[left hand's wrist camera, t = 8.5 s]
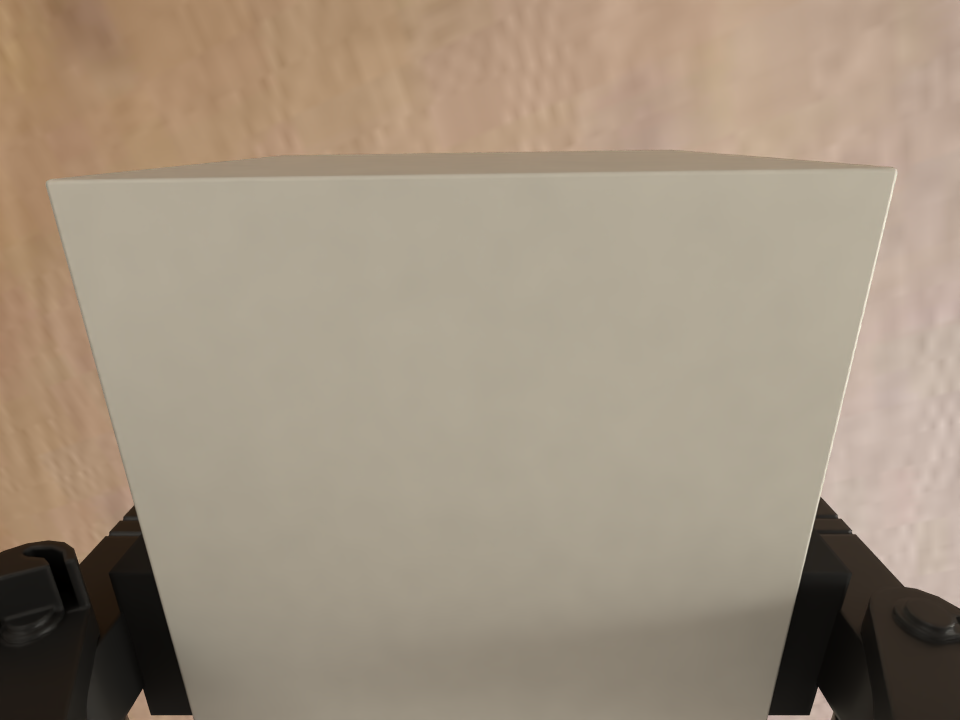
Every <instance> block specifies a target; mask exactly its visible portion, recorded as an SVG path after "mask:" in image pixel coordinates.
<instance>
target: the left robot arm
mask: <svg viewBox="0 0 960 720" xmlns="http://www.w3.org/2000/svg"><path fill="white" fill-rule="evenodd" d="M818 687H819V688H820V690H821V692H822V693H823V695H824V697H825V698H826V700H827V702H828V703H829V705H830V707H831V708H832V710H833V715H832V718H831V720H960V609H959V608H958V607H956V606H954V605H952V604H950V603H949V602H947V601H945V600H943V599H942V598H940V597H938V596H935V595H932V594H929V593H927V592H924V591H921V590H918V589H914V588H908V587H904V586H903V585H902V584H901V583H900V582H899V580H898V579H897V578H896V577H895V576H894V575H893V574H892V573H891V572H890V571H889V570H888V569H887V568H886V566H885V565H884V564H883V563H882V562H881V561H880V560H879V559H878V558H877V557H876V556H875V555H874V554H873V553H872V551H871V550H870V549H869V548H868V547H867V546H866V545H865V544H864V543H863V542H862V541H861V540H860V539H859V537H858V536H857V535H856V534H852V530H851V529H850V528H849V527H848V526H847V525H846V524H845V522H844V521H843V520H842V519H838V515H837V514H836V513H835V512H834V511H833V510H832V508H831V507H830V506H829V505H828V504H827V503H826V502H825V501H824V500H823V499H822V498H821V497H820V500H819V504H818V508H817V512H816V516H815V521H814V525H813V529H812V533H811V537H810V542H809V546H808V550H807V554H806V558H805V563H804V567H803V571H802V575H801V579H800V583H799V588H798V592H797V596H796V600H795V604H794V609H793V613H792V617H791V621H790V625H789V630H788V634H787V638H786V642H785V646H784V651H783V655H782V659H781V663H780V667H779V672H778V676H777V680H776V684H775V688H774V692H773V697H772V701H771V705H770V709H769V713H768V715H810V712H811V709H812V705H813V702H814V699H815V695H816V692H817V689H818ZM142 689H143V690H144V693H145V697H146V700H147V703H148V707H149V710H150V713H151V715H192V711H191V707H190V704H189V700H188V697H187V693H186V689H185V686H184V682H183V679H182V675H181V671H180V668H179V664H178V661H177V657H176V653H175V650H174V646H173V642H172V639H171V635H170V632H169V628H168V624H167V621H166V617H165V614H164V610H163V606H162V603H161V599H160V596H159V592H158V588H157V585H156V581H155V577H154V574H153V570H152V567H151V563H150V559H149V556H148V552H147V549H146V545H145V541H144V538H143V534H142V531H141V527H140V523H139V520H138V516H137V512H136V509H135V505H134V506H133V507H132V508H131V509H130V511H129V512H128V513H127V514H126V515H125V516H124V519H123V521H119V522H118V523H117V525H116V526H115V527H114V528H113V529H112V530H111V531H110V532H109V536H105V538H104V539H103V540H102V541H101V542H100V543H99V544H98V545H97V546H96V547H95V548H94V549H93V550H92V552H91V553H90V554H89V555H88V556H87V557H86V558H85V559H84V560H83V561H82V562H81V563H80V565H79V563H78V560H77V557H76V554H75V550H74V548H72V547H71V546H69V545H68V544H66V543H65V542H57V541H41V542H34V543H27V544H24V545H21V546H18V547H15V548H11V549H8V550H5V551H3V552H1V553H0V720H129V718H128V715H127V714H128V712H129V711H130V709H131V707H132V706H133V704H134V702H135V701H136V699H137V697H138V696H139V694H140V692H141V691H142Z"/></svg>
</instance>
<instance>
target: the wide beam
mask: <svg viewBox="0 0 960 720" xmlns="http://www.w3.org/2000/svg"><path fill="white" fill-rule="evenodd" d="M896 177H897V169H895V168H893V167H883V166H871V165H858V164H845V163H832V162H820V161H807V160H794V159H781V158H768V157H756V156H743V155H730V154H717V153H705V152H692V151H679V150H628V151H559V152H491V153H422V154H353V155H284V156H273V157H263V158H253V159H244V160H234V161H224V162H214V163H204V164H195V165H185V166H175V167H165V168H155V169H146V170H136V171H126V172H116V173H106V174H97V175H87V176H77V177H67V178H57V179H50V180H48V181H47V182H46V188H47V191H48V195H49V198H50V202H51V206H52V209H53V213H54V216H55V220H56V224H57V227H58V231H59V234H60V238H61V242H62V245H63V249H64V253H65V256H66V260H67V263H68V267H69V271H70V274H71V278H72V281H73V285H74V289H75V292H76V296H77V299H78V303H79V307H80V310H81V314H82V318H83V321H84V325H85V328H86V332H87V336H88V339H89V343H90V346H91V350H92V354H93V357H94V361H95V364H96V368H97V372H98V375H99V379H100V382H101V386H102V390H103V393H104V397H105V401H106V404H107V408H108V411H109V415H110V419H111V422H112V426H113V429H114V433H115V437H116V440H117V444H118V447H119V451H120V455H121V458H122V462H123V466H124V469H125V473H126V476H127V480H128V484H129V487H130V491H131V494H132V498H133V502H134V505H135V509H136V512H137V516H138V520H139V523H140V527H141V531H142V534H143V538H144V541H145V545H146V549H147V552H148V556H149V559H150V563H151V567H152V570H153V574H154V577H155V581H156V585H157V588H158V592H159V596H160V599H161V603H162V606H163V610H164V614H165V617H166V621H167V624H168V628H169V632H170V635H171V639H172V642H173V646H174V650H175V653H176V657H177V661H178V664H179V668H180V671H181V675H182V679H183V682H184V686H185V689H186V693H187V697H188V700H189V704H190V707H191V711H192V715H193V718H194V720H767V718H768V713H769V709H770V705H771V701H772V697H773V692H774V688H775V684H776V680H777V676H778V672H779V667H780V663H781V659H782V655H783V651H784V646H785V642H786V638H787V634H788V630H789V625H790V621H791V617H792V613H793V609H794V604H795V600H796V596H797V592H798V588H799V583H800V579H801V575H802V571H803V567H804V563H805V558H806V554H807V550H808V546H809V542H810V537H811V533H812V529H813V525H814V521H815V516H816V512H817V508H818V504H819V500H820V495H821V491H822V487H823V483H824V479H825V475H826V470H827V466H828V462H829V458H830V454H831V449H832V445H833V441H834V437H835V433H836V428H837V424H838V420H839V416H840V412H841V407H842V403H843V399H844V395H845V391H846V386H847V382H848V378H849V374H850V370H851V366H852V361H853V357H854V353H855V349H856V345H857V340H858V336H859V332H860V328H861V324H862V319H863V315H864V311H865V307H866V303H867V298H868V294H869V290H870V286H871V282H872V277H873V273H874V269H875V265H876V261H877V257H878V252H879V248H880V244H881V240H882V236H883V231H884V227H885V223H886V219H887V215H888V210H889V206H890V202H891V198H892V194H893V189H894V185H895V181H896Z"/></svg>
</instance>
